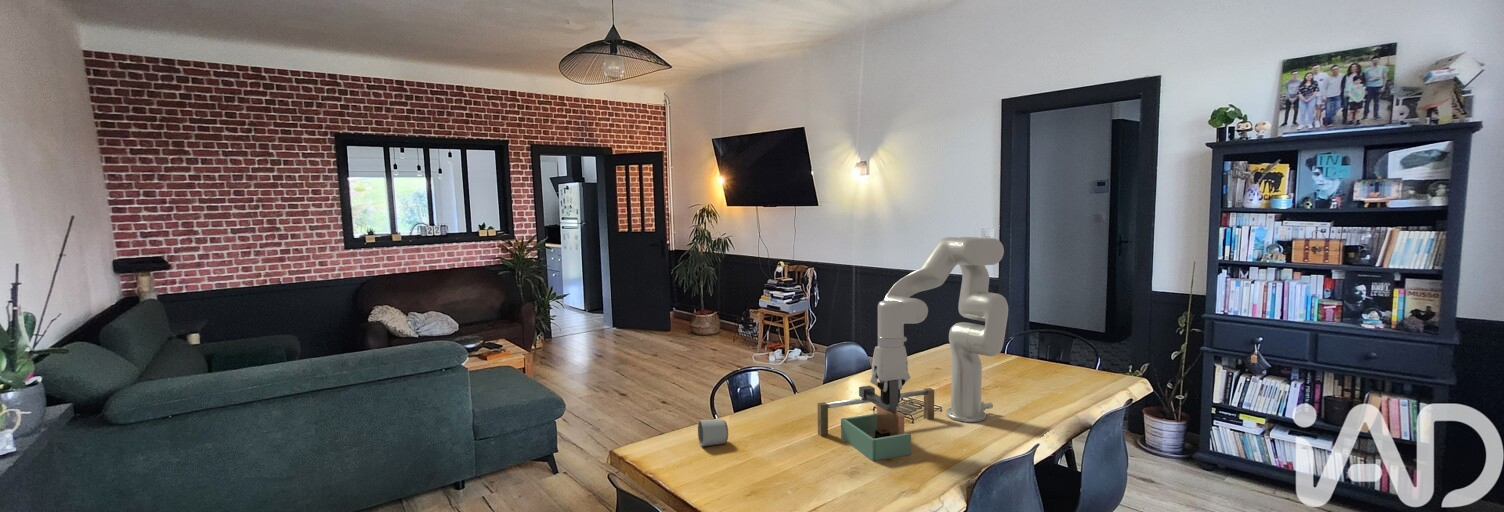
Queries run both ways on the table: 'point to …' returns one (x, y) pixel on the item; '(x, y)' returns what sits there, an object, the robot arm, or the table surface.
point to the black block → (881, 433)
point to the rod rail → (824, 406)
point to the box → (874, 449)
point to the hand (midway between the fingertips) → (890, 402)
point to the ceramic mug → (712, 432)
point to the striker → (886, 408)
